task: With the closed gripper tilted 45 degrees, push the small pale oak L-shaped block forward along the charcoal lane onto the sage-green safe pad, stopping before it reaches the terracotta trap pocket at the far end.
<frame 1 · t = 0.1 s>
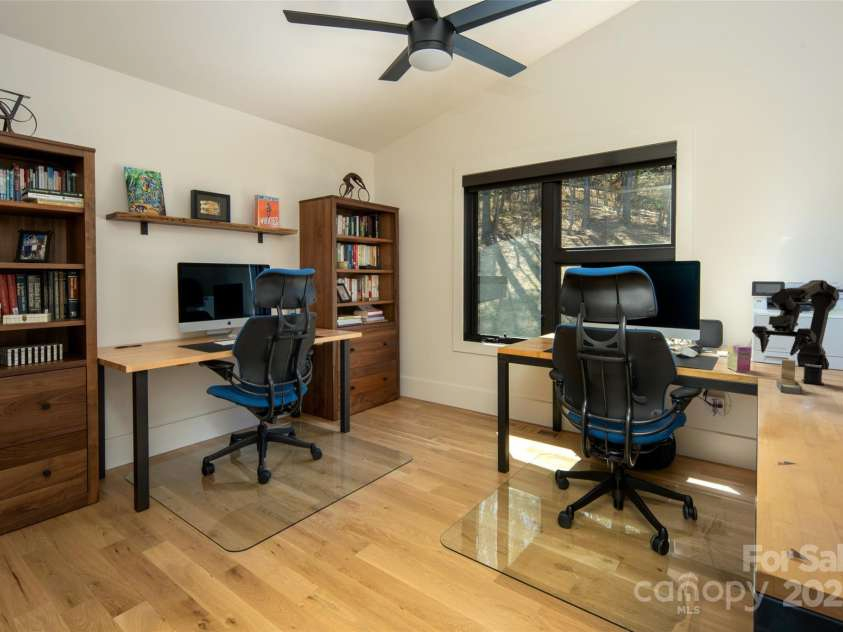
hand: (776, 353, 172), 15 cm above the table, tool tilted 35°, fingers open, 9 cm apart
trap lane: (788, 389, 177), on the table
box: (738, 370, 216), on the table
oak block: (787, 383, 179), point 2 cm above the table, touching trap lane
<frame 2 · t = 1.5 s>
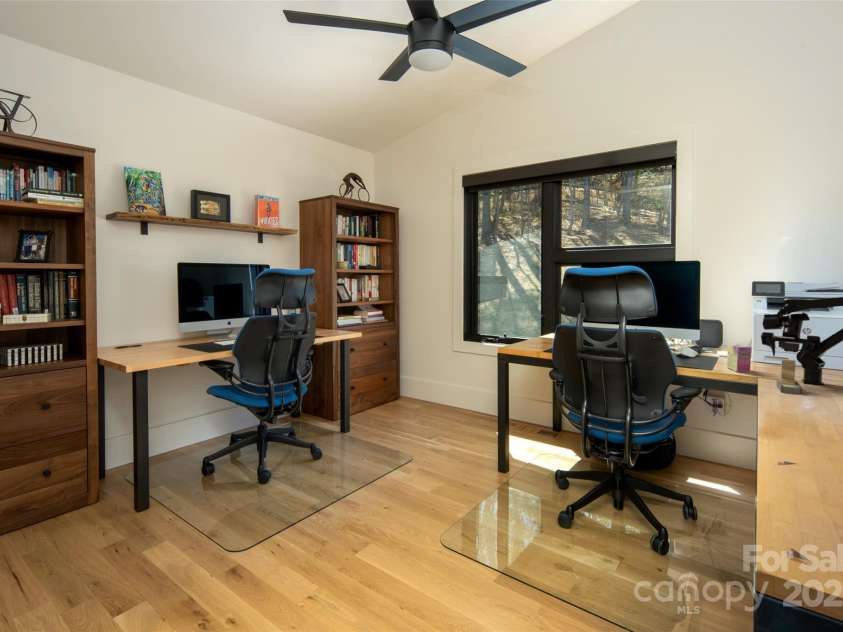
hand: (786, 356, 184), 11 cm above the table, tool tilted 45°, fingers open, 8 cm apart
nothing on the table moved.
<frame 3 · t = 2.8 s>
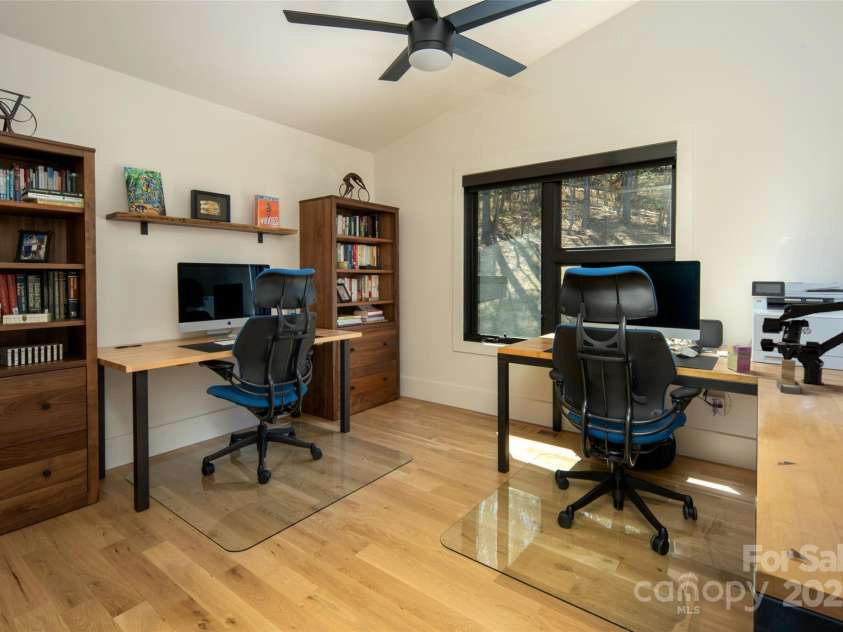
hand: (785, 363, 184), 9 cm above the table, tool tilted 45°, fingers closed
nothing on the table moved.
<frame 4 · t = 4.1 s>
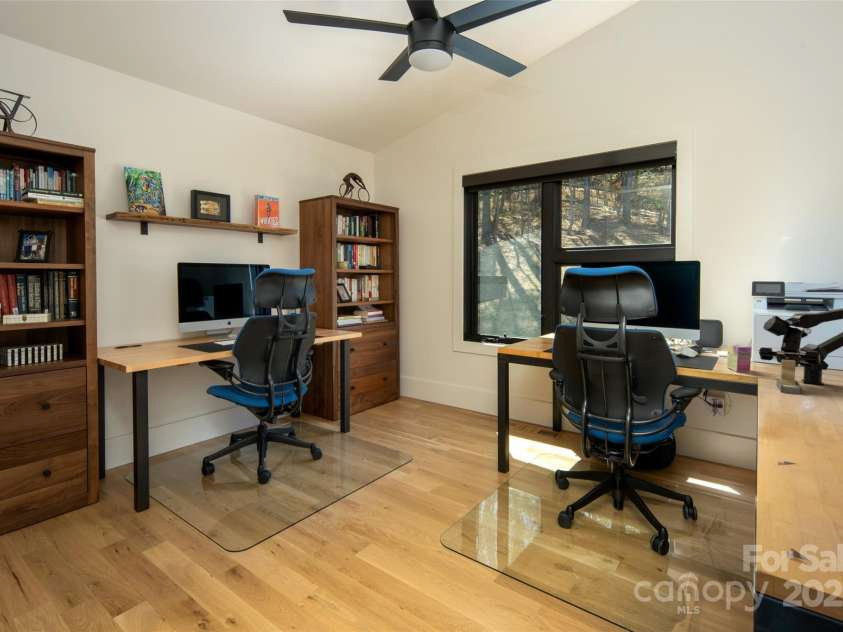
hand: (785, 373, 181), 6 cm above the table, tool tilted 40°, fingers closed
oak block: (787, 383, 179), point 2 cm above the table, touching gripper
everything else where it was.
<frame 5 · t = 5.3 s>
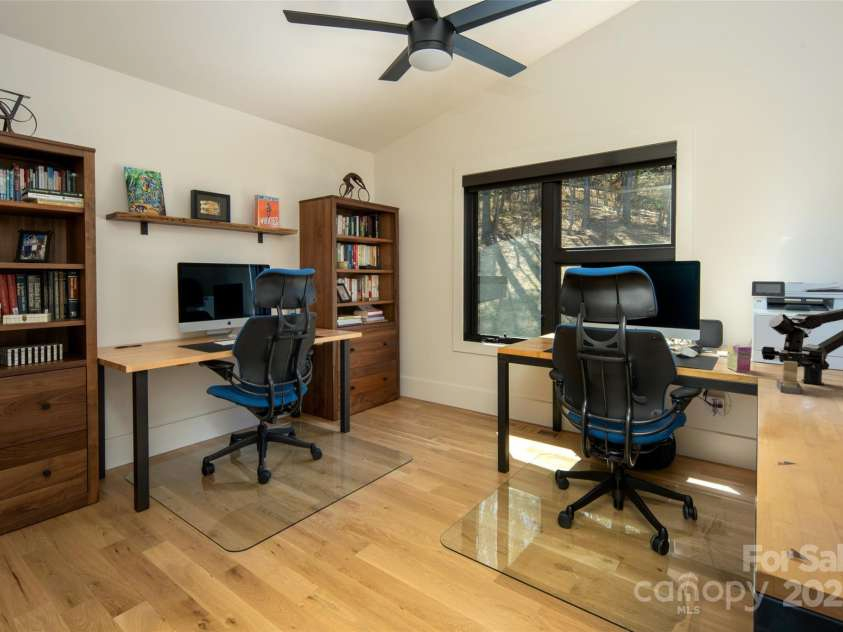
hand: (788, 372, 179), 6 cm above the table, tool tilted 45°, fingers closed
oak block: (789, 385, 176), point 2 cm above the table, touching trap lane
everything else where it was.
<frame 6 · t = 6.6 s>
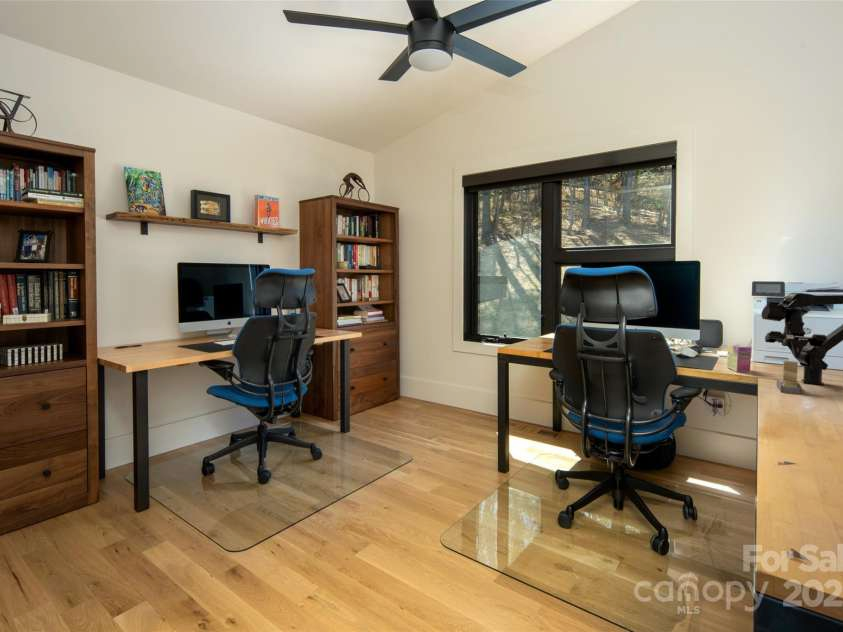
hand: (797, 358, 181), 11 cm above the table, tool tilted 30°, fingers closed
nothing on the table moved.
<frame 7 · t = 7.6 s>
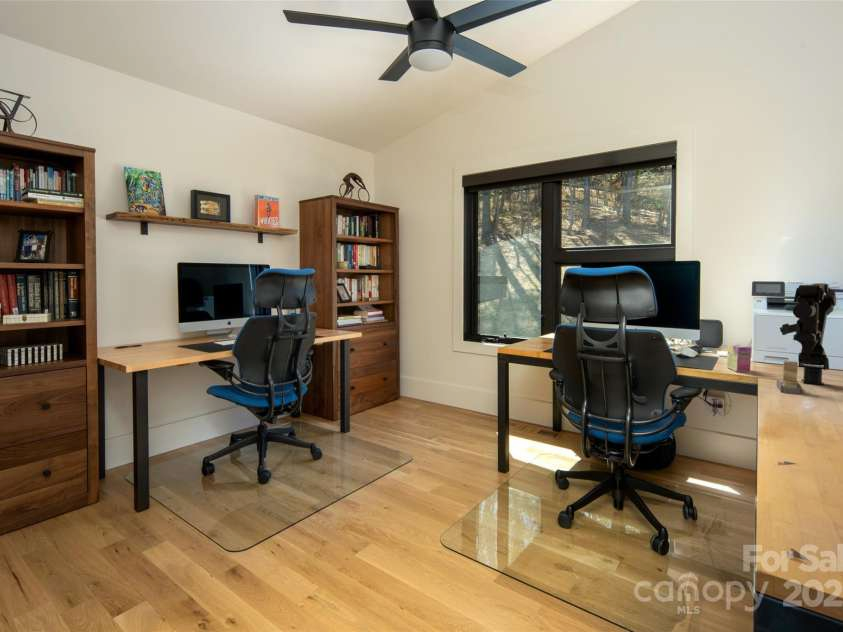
hand: (806, 357, 179), 12 cm above the table, tool pointing down, fingers closed
nothing on the table moved.
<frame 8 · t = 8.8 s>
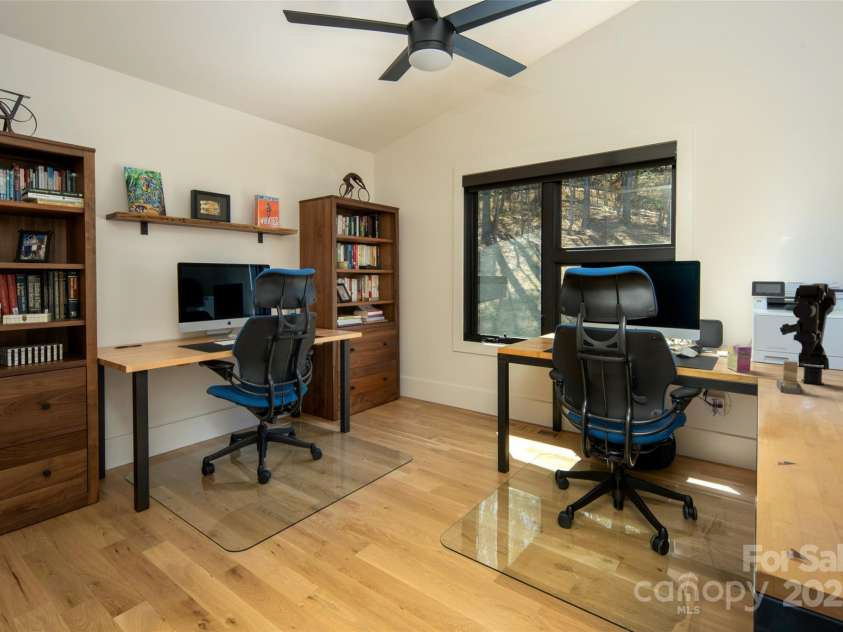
hand: (806, 357, 179), 12 cm above the table, tool pointing down, fingers closed
nothing on the table moved.
at the end: oak block 0.2 cm from the target spot, point 2.0 cm above the table; oak block tilted 0° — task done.
